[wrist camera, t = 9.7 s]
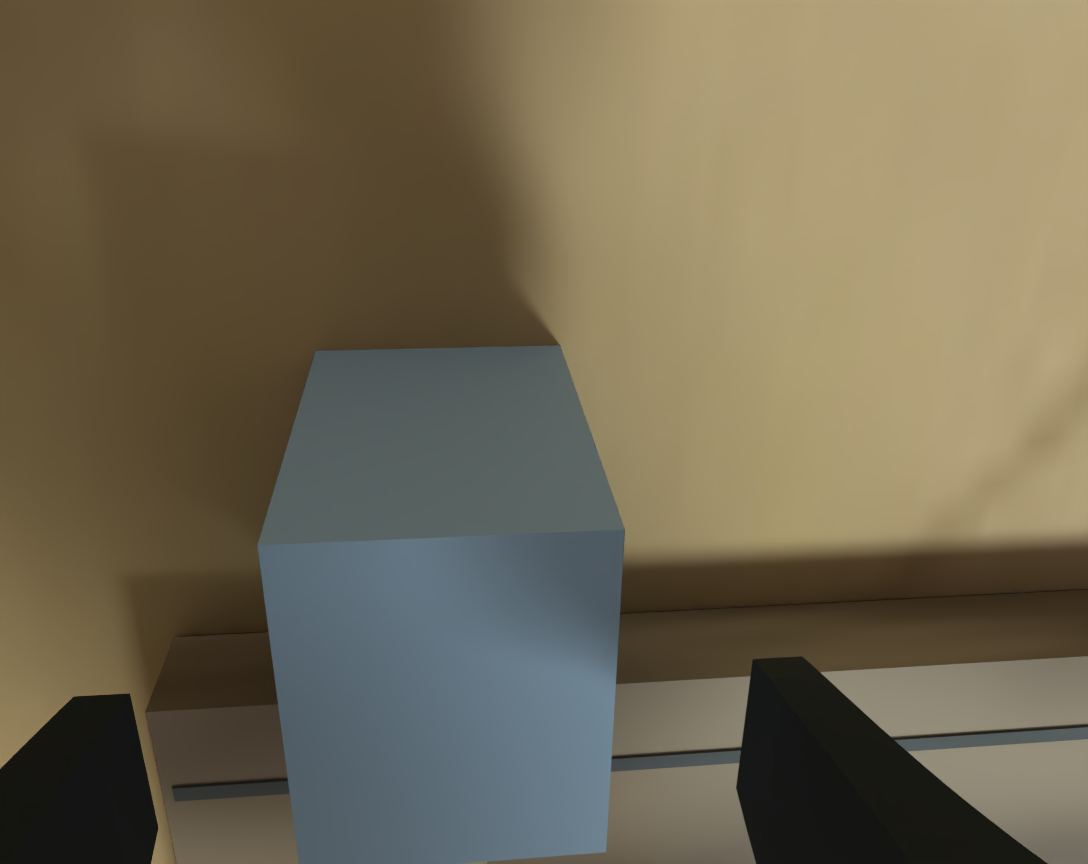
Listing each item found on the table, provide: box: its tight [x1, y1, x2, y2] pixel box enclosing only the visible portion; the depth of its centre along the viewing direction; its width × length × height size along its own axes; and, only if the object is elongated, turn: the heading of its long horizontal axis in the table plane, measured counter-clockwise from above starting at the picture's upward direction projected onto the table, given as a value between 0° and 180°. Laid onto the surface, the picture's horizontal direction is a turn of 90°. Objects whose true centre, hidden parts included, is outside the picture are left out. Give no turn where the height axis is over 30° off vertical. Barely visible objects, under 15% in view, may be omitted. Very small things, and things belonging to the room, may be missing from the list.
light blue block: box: [257, 345, 625, 864], centre depth 15 cm, size 8×4×6 cm, turn 179°
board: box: [145, 590, 1088, 864], centre depth 21 cm, size 12×30×2 cm, turn 90°
